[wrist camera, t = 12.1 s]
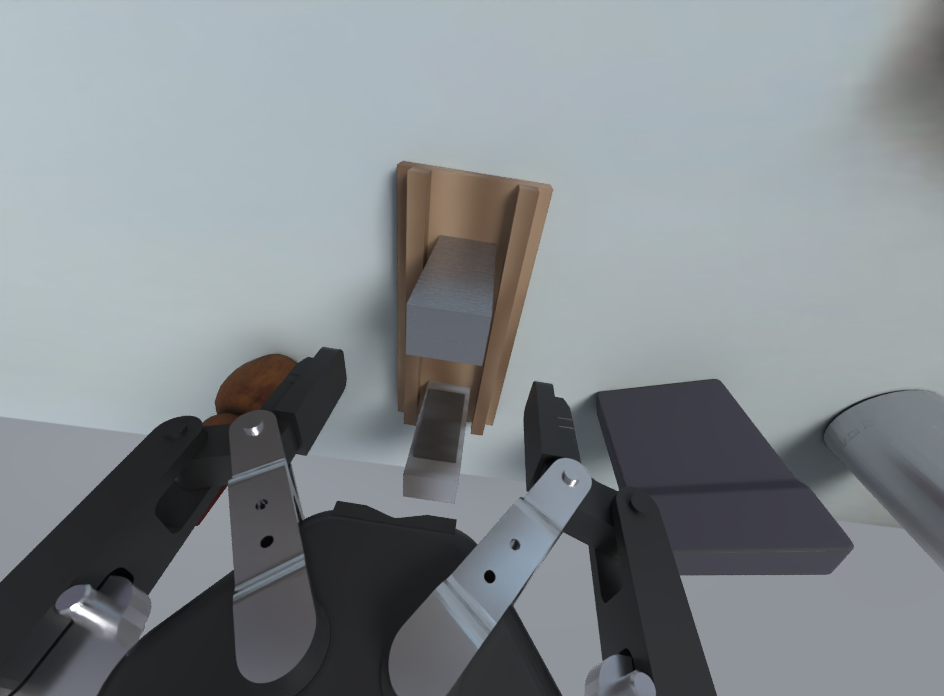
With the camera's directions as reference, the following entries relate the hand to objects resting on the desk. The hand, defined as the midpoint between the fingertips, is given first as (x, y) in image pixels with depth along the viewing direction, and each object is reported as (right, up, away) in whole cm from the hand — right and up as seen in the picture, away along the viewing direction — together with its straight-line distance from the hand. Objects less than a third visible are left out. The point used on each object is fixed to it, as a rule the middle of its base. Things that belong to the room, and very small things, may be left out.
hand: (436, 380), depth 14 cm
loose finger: (+1, +8, +10) cm, 13 cm away
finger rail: (0, +4, +15) cm, 16 cm away
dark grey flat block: (+19, -3, +19) cm, 27 cm away
